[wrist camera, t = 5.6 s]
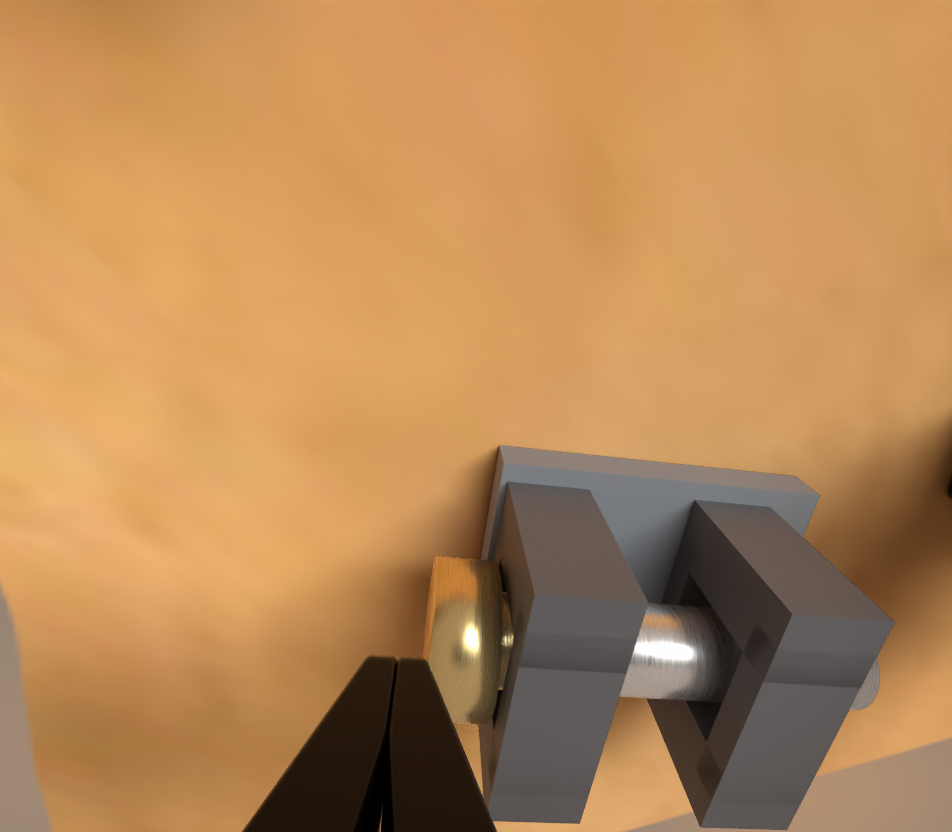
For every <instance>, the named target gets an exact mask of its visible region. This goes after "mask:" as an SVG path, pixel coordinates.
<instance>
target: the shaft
mask: <svg viewBox="0 0 952 832" xmlns="http://www.w3.org/2000/svg"><path fill="white" fill-rule="evenodd" d="M513 638H514V635H513V629H512V623H511V617H510V611H509V605H508V599H507V593H506V592H502V584H501V576H500V571H499V567H498V565H497V562H496V561H493V560H481V559H469V558H456V557H444V556H435V559H434V563H433V568H432V575H431V582H430V589H429V597H428V606H427V615H426V625H425V636H424V648H423V658H424V659H426V660H427V662H428V663H429V665H430V668H431V670H432V673H433V675H434V678H435V680H436V683H437V685H438V688H439V690H440V693H441V695H442V697H443V700H444V702H445V705H446V707H447V710H448V712H449V715H450V717H451V720H452V722H453V724H468V725H488V724H489V723H490V721H491V719H492V716H493V713H494V709H495V705H496V700H497V694H498V690H503V686H504V681H505V676H506V672H507V667H508V662H509V657H510V652H511V648H512V643H513ZM742 653H743V652H742V650H741V649H740V647H739V646H738V644H737V643H736V641H735V640H734V638H733V637H732V635H731V634H730V632H729V631H728V629H727V628H726V626H725V625H724V623H723V622H722V620H721V619H720V617H719V616H718V615H717V613H716V612H715V610H714V609H713V608H710V607H697V606H683V605H670V604H657V603H648V607H647V610H646V613H645V616H644V619H643V623H642V626H641V629H640V632H639V635H638V639H637V642H636V645H635V648H634V651H633V655H632V658H631V661H630V664H629V667H628V671H627V674H626V677H625V680H624V683H623V687H622V690H621V693H620V696H619V697H634V698H652V699H670V700H688V701H705V702H723V700H724V697H725V695H726V692H727V690H728V688H729V685H730V683H731V680H732V678H733V675H734V673H735V670H736V668H737V665H738V663H739V660H740V658H741V655H742ZM879 683H880V672H879V665H878V660H877V658H876V660H875V662H874V664H873V665H872V667H871V669H870V671H869V673H868V675H867V677H866V679H865V681H864V683H863V685H862V687H861V689H860V690H859V692H858V694H857V696H856V698H855V700H854V702H853V704H852V706H851V708H850V710H860V709H864V708H866V707H868V706H869V705H870V704H871V703H872V702H873V700H874V699H875V697H876V695H877V692H878V689H879Z"/></svg>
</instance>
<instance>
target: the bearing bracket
mask: <svg viewBox="0 0 952 832" xmlns="http://www.w3.org/2000/svg"><path fill="white" fill-rule="evenodd" d="M819 497H820V495H819V494H818V493H817V492H816V491H814V490H813V489H812V488H810V487H809V486H808V485H806V484H805V483H804V482H802V481H801V480H800V479H799V478H797V477H796V476H788V475H778V474H769V473H759V472H749V471H740V470H730V469H721V468H711V467H702V466H692V465H682V464H673V463H663V462H654V461H644V460H635V459H625V458H615V457H606V456H596V455H587V454H577V453H568V452H558V451H548V450H539V449H529V448H520V447H510V446H500V447H499V452H498V458H497V464H496V470H495V476H494V482H493V488H492V494H491V499H490V505H489V511H488V517H487V523H486V529H485V535H484V541H483V546H482V552H481V558H480V559H481V560H493V561H496V562H497V565H498V567H499V571H500V576H501V584H502V592H506V593H507V599H508V605H509V611H510V617H511V623H512V629H513V635H514V638H513V643H512V648H511V652H510V657H509V662H508V667H507V672H506V676H505V681H504V686H503V690H498V694H497V700H496V705H495V709H494V713H493V716H492V719H491V721H490V723H489V724H488V725H479V739H480V753H481V767H482V781H483V796H484V801H485V803H486V806H487V808H488V811H489V813H490V816H491V818H492V820H493V821H509V822H541V823H574V824H580V821H581V818H582V815H583V811H584V808H585V805H586V802H587V799H588V795H589V792H590V789H591V786H592V783H593V779H594V776H595V773H596V770H597V767H598V763H599V760H600V757H601V754H602V751H603V747H604V744H605V741H606V738H607V735H608V731H609V728H610V725H611V722H612V719H613V715H614V712H615V709H616V706H617V703H618V699H619V696H620V693H621V690H622V687H623V683H624V680H625V677H626V674H627V671H628V667H629V664H630V661H631V658H632V655H633V651H634V648H635V645H636V642H637V639H638V635H639V632H640V629H641V626H642V623H643V619H644V616H645V613H646V610H647V607H648V603H657V604H670V605H683V606H697V607H710V608H713V609H714V610H715V612H716V613H717V615H718V616H719V617H720V619H721V620H722V622H723V623H724V625H725V626H726V628H727V629H728V631H729V632H730V634H731V635H732V637H733V638H734V640H735V641H736V643H737V644H738V646H739V647H740V649H741V650H742V652H743V653H742V655H741V658H740V660H739V663H738V665H737V668H736V670H735V673H734V675H733V678H732V680H731V683H730V685H729V688H728V690H727V692H726V695H725V697H724V700H723V702H705V701H688V700H670V699H652V698H647V700H648V703H649V705H650V708H651V710H652V712H653V715H654V717H655V720H656V722H657V724H658V727H659V729H660V732H661V734H662V736H663V739H664V741H665V744H666V746H667V748H668V751H669V753H670V756H671V758H672V761H673V763H674V765H675V768H676V770H677V773H678V775H679V777H680V780H681V782H682V785H683V787H684V789H685V792H686V794H687V797H688V799H689V802H690V804H691V806H692V809H693V811H694V814H695V816H696V818H697V820H698V823H699V826H700V827H705V828H738V829H770V830H787V829H788V827H789V825H790V823H791V821H792V819H793V817H794V815H795V814H796V812H797V810H798V808H799V806H800V804H801V802H802V800H803V798H804V796H805V794H806V792H807V790H808V788H809V787H810V785H811V783H812V781H813V779H814V777H815V775H816V773H817V771H818V769H819V767H820V765H821V764H822V762H823V760H824V758H825V756H826V754H827V752H828V750H829V748H830V746H831V744H832V742H833V740H834V739H835V737H836V735H837V733H838V731H839V729H840V727H841V725H842V723H843V721H844V719H845V717H846V715H847V714H848V712H849V710H850V708H851V706H852V704H853V702H854V700H855V698H856V696H857V694H858V692H859V690H860V689H861V687H862V685H863V683H864V681H865V679H866V677H867V675H868V673H869V671H870V669H871V667H872V665H873V664H874V662H875V660H876V658H877V656H878V654H879V652H880V650H881V648H882V646H883V644H884V642H885V640H886V639H887V637H888V635H889V633H890V631H891V629H892V627H893V625H894V623H895V621H894V620H892V619H891V618H890V617H889V616H888V615H887V614H886V613H885V612H884V611H883V610H882V609H880V608H879V607H878V606H877V605H876V604H875V603H874V602H873V601H872V600H871V599H870V598H869V597H867V596H866V595H865V594H864V593H863V592H862V591H861V590H860V589H859V588H858V587H857V586H855V585H854V584H853V583H852V582H851V581H850V580H849V579H848V578H847V577H846V576H845V575H844V574H842V573H841V572H840V571H839V570H838V569H837V568H836V567H835V566H834V565H833V564H832V563H830V562H829V561H828V560H827V559H826V558H825V557H824V556H823V555H822V554H821V553H820V552H819V551H817V550H816V549H815V548H814V547H813V546H812V545H811V544H810V543H809V542H808V541H807V540H806V539H804V538H803V535H804V533H805V530H806V528H807V526H808V523H809V521H810V518H811V516H812V514H813V511H814V509H815V506H816V504H817V502H818V499H819Z"/></svg>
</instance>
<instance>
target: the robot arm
mask: <svg viewBox="0 0 952 832" xmlns="http://www.w3.org/2000/svg"><path fill="white" fill-rule="evenodd" d="M948 497H949V498H950V499H951V500H952V484H951V486H950V488H949V491H948ZM381 816H382V821H381ZM380 824H381V832H497V830H496V828H495V825H494V823H493V820H492V818H491V816H490V813H489V811H488V808H487V806H486V803H485V801H484V798H483V796H482V793H481V791H480V788H479V786H478V784H477V781H476V779H475V776H474V774H473V771H472V769H471V766H470V764H469V761H468V759H467V757H466V754H465V752H464V749H463V747H462V744H461V742H460V739H459V737H458V734H457V732H456V729H455V727H454V725H453V722H452V720H451V717H450V715H449V712H448V710H447V707H446V705H445V702H444V700H443V697H442V695H441V693H440V690H439V688H438V685H437V683H436V680H435V678H434V675H433V673H432V670H431V668H430V665H429V663H428V662H427V660H426V659H424V658H415V657H401V658H399V659H398V661H397V660H396V658H395V657H393V656H378V655H370V656H368V657H367V658H366V659H365V660H364V662H363V663H362V664H361V666H360V667H359V669H358V670H357V671H356V673H355V674H354V676H353V677H352V678H351V680H350V681H349V683H348V684H347V685H346V687H345V688H344V690H343V691H342V692H341V694H340V695H339V697H338V698H337V699H336V701H335V702H334V704H333V705H332V706H331V708H330V709H329V711H328V712H327V713H326V715H325V716H324V718H323V719H322V720H321V722H320V723H319V725H318V726H317V727H316V729H315V730H314V732H313V733H312V734H311V736H310V737H309V739H308V740H307V741H306V743H305V744H304V746H303V747H302V748H301V750H300V751H299V753H298V754H297V755H296V757H295V758H294V760H293V761H292V762H291V764H290V765H289V767H288V768H287V769H286V771H285V772H284V774H283V775H282V776H281V778H280V779H279V781H278V782H277V783H276V785H275V786H274V788H273V789H272V790H271V792H270V793H269V795H268V796H267V797H266V799H265V800H264V802H263V803H262V804H261V806H260V807H259V809H258V810H257V811H256V813H255V814H254V816H253V817H252V818H251V820H250V821H249V823H248V824H247V825H246V827H245V828H244V830H243V831H242V832H379V831H380Z"/></svg>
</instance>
